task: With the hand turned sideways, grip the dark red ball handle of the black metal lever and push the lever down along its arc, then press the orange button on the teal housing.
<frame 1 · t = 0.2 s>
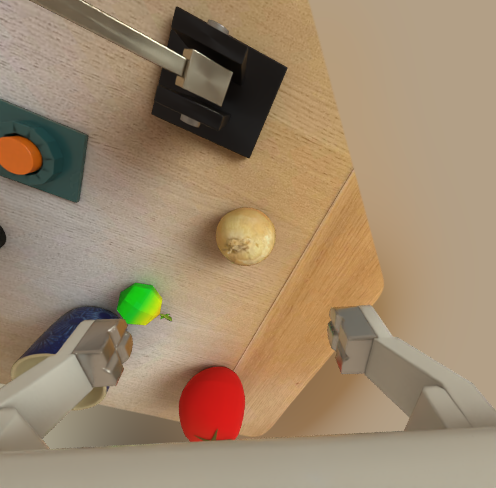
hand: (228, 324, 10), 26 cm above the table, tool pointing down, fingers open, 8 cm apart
planter: (99, 324, 44), on the table
button: (18, 155, 28), point 3 cm above the table, slide at 0.1 cm
tomato: (216, 372, 51), on the table
onion: (245, 227, 36), on the table
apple: (153, 294, 42), on the table
lever: (96, 21, 13), point 16 cm above the table, hinge at 25.0°
bracket: (218, 92, 28), on the table
button box: (36, 152, 31), on the table
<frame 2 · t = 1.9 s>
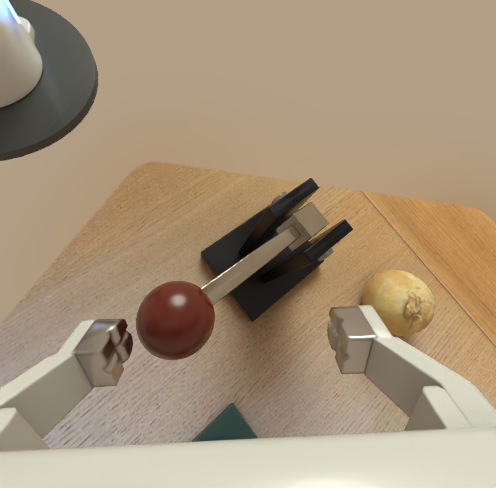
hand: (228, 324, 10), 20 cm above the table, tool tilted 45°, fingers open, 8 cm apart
onion: (379, 302, 34), on the table
lever: (252, 262, 16), point 15 cm above the table, hinge at 22.8°
bracket: (262, 259, 32), on the table
button box: (216, 481, 25), on the table
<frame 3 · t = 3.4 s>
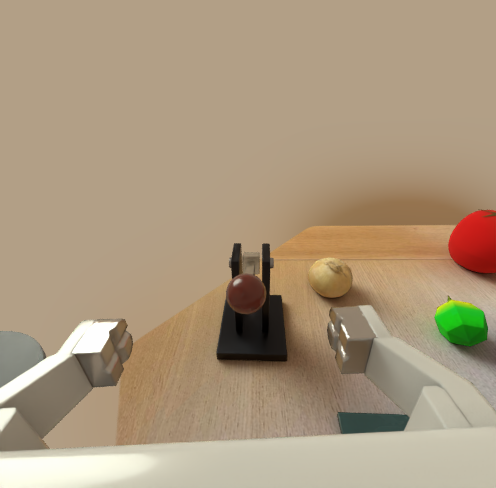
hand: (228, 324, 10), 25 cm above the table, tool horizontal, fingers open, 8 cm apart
tomato: (473, 267, 53), on the table
onion: (327, 289, 49), on the table
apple: (449, 330, 40), on the table
lever: (249, 275, 28), point 15 cm above the table, hinge at 22.8°
bracket: (252, 326, 41), on the table
button box: (396, 477, 25), on the table
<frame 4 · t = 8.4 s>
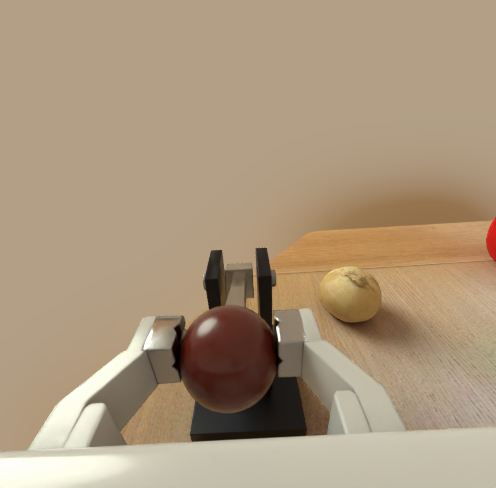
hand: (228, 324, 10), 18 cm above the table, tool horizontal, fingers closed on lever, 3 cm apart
onion: (346, 310, 36), on the table
lever: (236, 303, 15), point 15 cm above the table, hinge at 22.7°, touching gripper
bracket: (247, 377, 27), on the table
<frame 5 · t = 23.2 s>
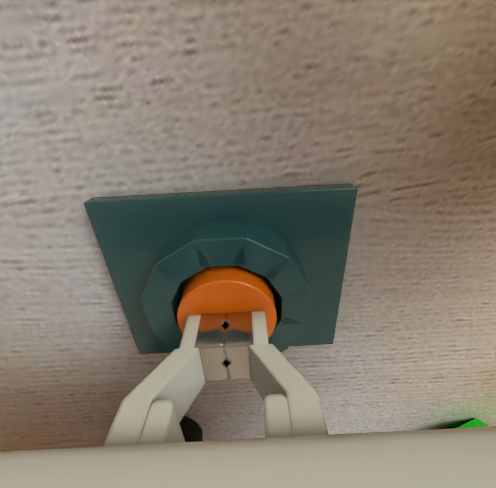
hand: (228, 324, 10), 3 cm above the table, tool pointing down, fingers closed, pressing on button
button: (228, 308, 11), point 2 cm above the table, slide at -0.5 cm, touching gripper
cup: (167, 430, 20), on the table
button box: (230, 277, 13), on the table
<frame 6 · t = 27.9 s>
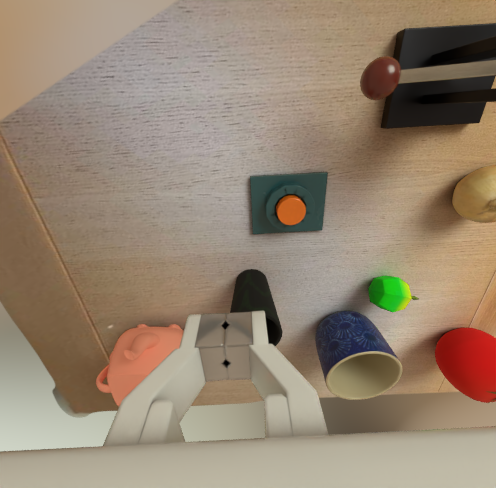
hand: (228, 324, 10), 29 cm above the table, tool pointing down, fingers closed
teapot: (161, 338, 51), on the table
planter: (340, 326, 51), on the table
button: (290, 210, 36), point 3 cm above the table, slide at 0.1 cm
tomato: (450, 336, 53), on the table
cup: (251, 281, 45), on the table
onion: (470, 188, 38), on the table
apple: (385, 283, 46), on the table
lever: (452, 72, 22), point 10 cm above the table, hinge at -28.3°
bracket: (436, 80, 31), on the table
button box: (287, 203, 38), on the table
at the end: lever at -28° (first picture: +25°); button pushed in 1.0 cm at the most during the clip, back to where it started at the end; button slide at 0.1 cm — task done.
